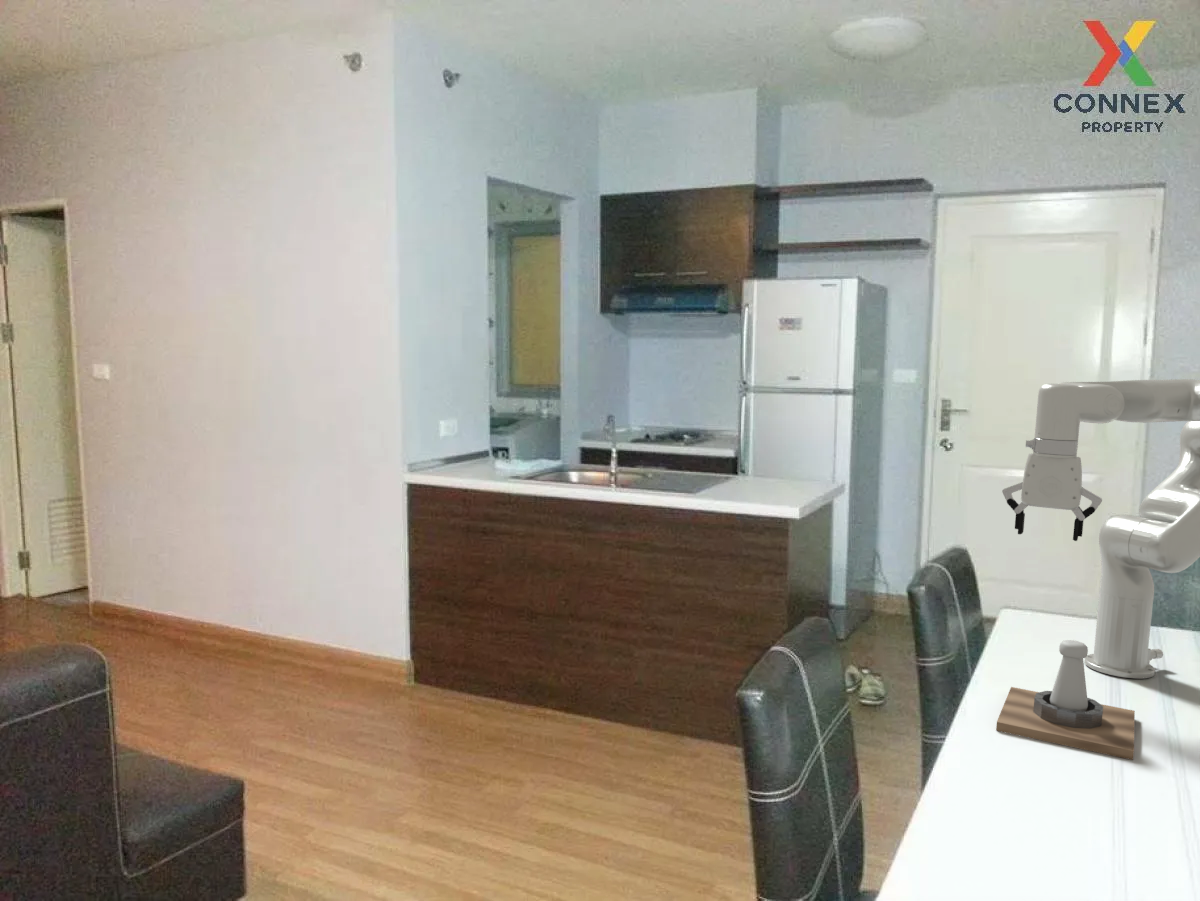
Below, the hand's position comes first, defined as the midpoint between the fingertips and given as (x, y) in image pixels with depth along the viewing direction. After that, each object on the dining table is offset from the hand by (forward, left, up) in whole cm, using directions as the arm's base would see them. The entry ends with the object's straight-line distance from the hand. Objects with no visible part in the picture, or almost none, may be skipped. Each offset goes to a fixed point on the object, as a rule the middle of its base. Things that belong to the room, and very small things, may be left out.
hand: (1047, 536), depth 180 cm
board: (+13, +20, -28) cm, 37 cm away
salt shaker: (+13, +20, -27) cm, 36 cm away
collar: (+13, +20, -27) cm, 36 cm away
